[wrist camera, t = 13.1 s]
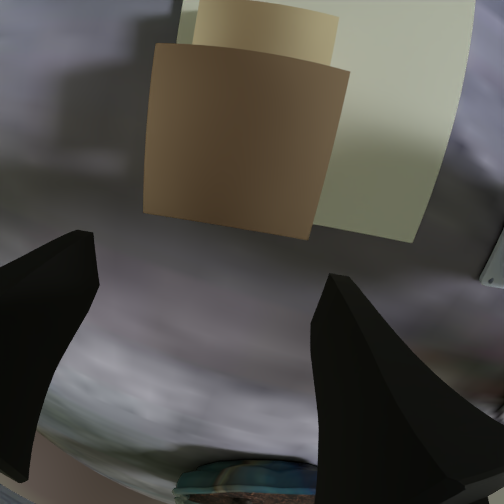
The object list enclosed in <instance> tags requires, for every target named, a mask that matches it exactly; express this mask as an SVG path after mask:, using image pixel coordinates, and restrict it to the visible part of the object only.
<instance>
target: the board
mask: <svg viewBox="0 0 504 504" xmlns="http://www.w3.org/2000/svg"><path fill="white" fill-rule="evenodd" d="M199 1H200V0H183V5H182V10H181V16H180V22H179V28H178V35H177V41H176V44H192V43H193V36H194V30H195V24H196V18H197V12H198V7H199ZM252 1H260V2H268V3H274V4H281V5H287V6H292V7H298V8H303V9H307V10H312V11H317V12H321V13H325V14H329V15H333V16H337V17H339V22H338V27H337V33H336V38H335V43H334V48H333V54H332V59H331V64H330V66H331V67H335V68H339V69H343V70H346V71H350V76H349V81H348V85H347V90H346V94H345V99H344V103H343V107H342V112H341V116H340V120H339V124H338V129H337V133H336V137H335V141H334V145H333V149H332V153H331V157H330V161H329V165H328V169H327V173H326V176H325V180H324V184H323V188H322V192H321V195H320V199H319V203H318V206H317V210H316V214H315V217H314V221H313V224H315V225H320V226H326V227H331V228H337V229H342V230H347V231H353V232H358V233H363V234H368V235H373V236H378V237H383V238H388V239H393V240H398V241H403V242H408V243H413V240H414V238H415V236H416V233H417V231H418V228H419V226H420V223H421V221H422V218H423V215H424V213H425V210H426V207H427V205H428V202H429V199H430V196H431V194H432V191H433V188H434V185H435V182H436V179H437V176H438V173H439V170H440V167H441V164H442V161H443V158H444V154H445V151H446V148H447V144H448V141H449V137H450V134H451V130H452V127H453V123H454V119H455V115H456V111H457V107H458V103H459V99H460V95H461V90H462V85H463V81H464V76H465V71H466V66H467V60H468V54H469V48H470V42H471V35H472V28H473V20H474V11H475V0H252Z"/></svg>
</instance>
